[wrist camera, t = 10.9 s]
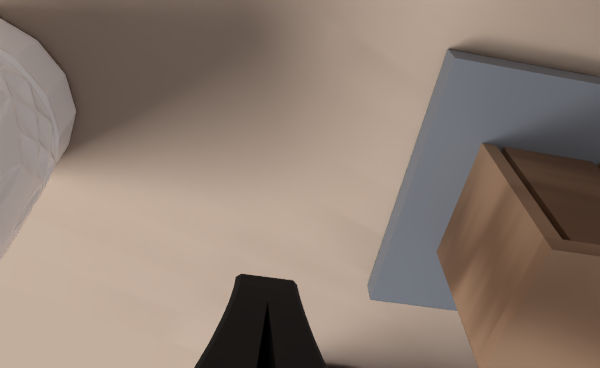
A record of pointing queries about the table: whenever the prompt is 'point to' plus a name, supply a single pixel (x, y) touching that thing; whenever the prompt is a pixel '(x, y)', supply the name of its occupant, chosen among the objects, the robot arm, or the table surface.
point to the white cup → (28, 126)
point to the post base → (463, 150)
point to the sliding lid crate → (527, 259)
